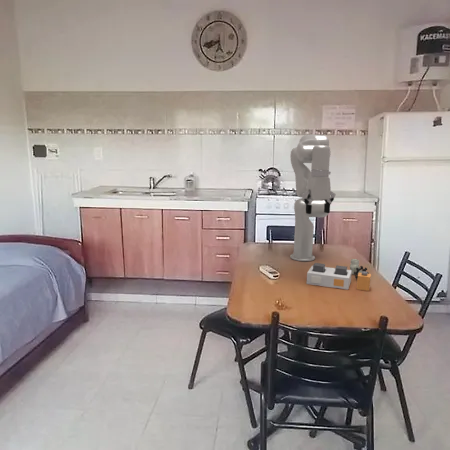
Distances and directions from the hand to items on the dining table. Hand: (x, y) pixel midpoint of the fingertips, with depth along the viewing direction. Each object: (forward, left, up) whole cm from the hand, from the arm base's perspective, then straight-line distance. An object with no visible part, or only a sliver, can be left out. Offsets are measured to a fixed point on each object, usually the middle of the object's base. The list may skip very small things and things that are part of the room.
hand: (317, 213), depth 191 cm
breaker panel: (+4, +7, -30) cm, 31 cm away
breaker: (+4, +3, -27) cm, 27 cm away
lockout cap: (+6, +22, -30) cm, 37 cm away
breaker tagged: (+4, +12, -27) cm, 30 cm away
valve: (-10, +18, -30) cm, 36 cm away
